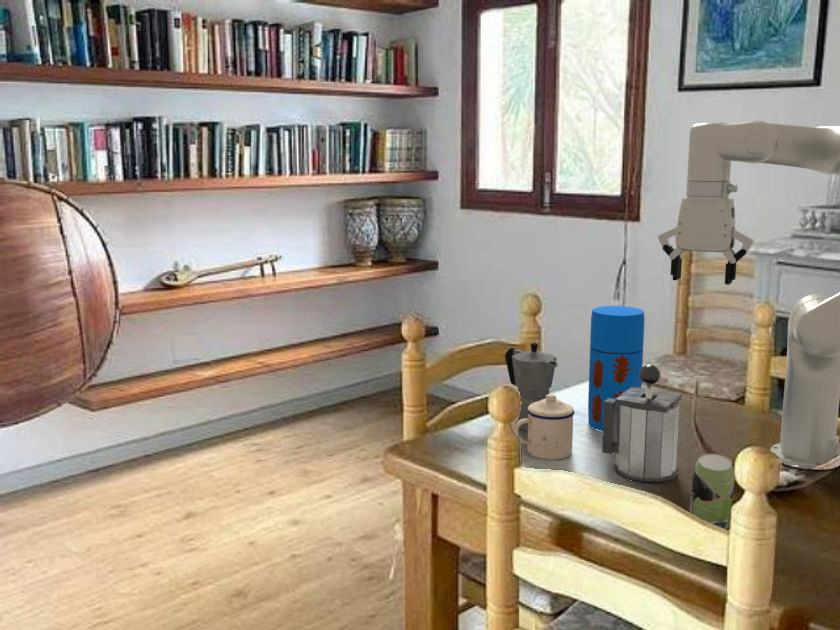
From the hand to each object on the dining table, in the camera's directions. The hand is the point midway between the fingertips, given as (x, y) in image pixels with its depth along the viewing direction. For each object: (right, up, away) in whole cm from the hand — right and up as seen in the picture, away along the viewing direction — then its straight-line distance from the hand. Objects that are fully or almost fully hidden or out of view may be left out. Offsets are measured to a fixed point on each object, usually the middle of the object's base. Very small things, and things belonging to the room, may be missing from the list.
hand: (702, 281), depth 160 cm
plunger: (-12, -33, -6) cm, 35 cm away
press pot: (-13, -35, -5) cm, 38 cm away
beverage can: (-8, -40, -29) cm, 50 cm away
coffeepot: (-30, -30, +22) cm, 48 cm away
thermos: (-12, -30, +20) cm, 38 cm away
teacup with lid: (-30, -34, +5) cm, 45 cm away
